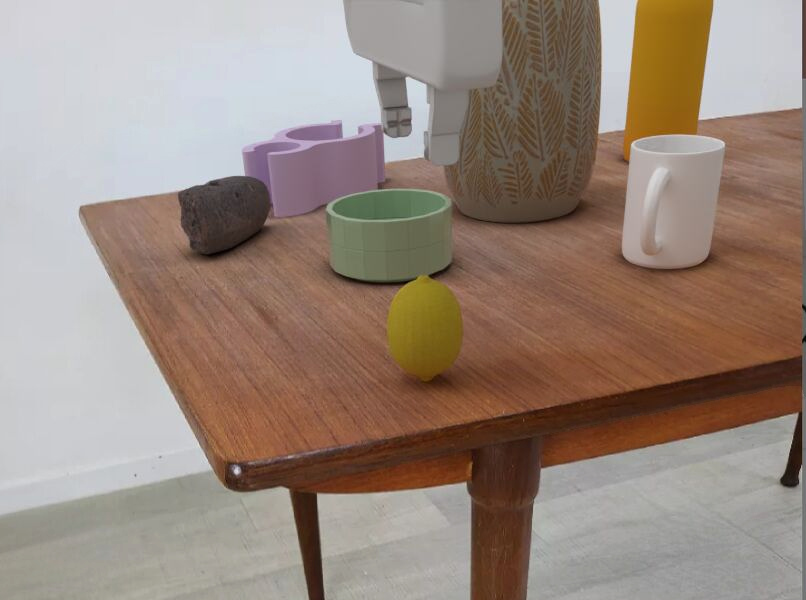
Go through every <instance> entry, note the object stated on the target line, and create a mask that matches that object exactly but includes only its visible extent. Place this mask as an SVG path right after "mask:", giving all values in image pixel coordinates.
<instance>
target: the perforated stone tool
mask: <svg viewBox="0 0 806 600" xmlns="http://www.w3.org/2000/svg"><path fill="white" fill-rule="evenodd" d="M177 197H178V198H177V199H178V203H179V206H180V219H179V220H180V227H181V229H182V231H183V232H184V234H185V235H186V236H187V238H188V240H189V247H190V249H191V250H193V251H196V252H197V253H198V254H205V255H211V254H212V255H213V254H215V253H218V252H224V251H226V250H230V249H232V248H234V247H235V246H237V245H239V244H240V243H243V242H244V241H246V240H248V239H249V238H251V237H252V236H254V235H255V234H257V232H259V231H260V230H261V229H262V227H263V226H264V225H265V223H266V222H267V220H268V217H269V214H270V211H271V204H270V194H269V191H268V189H267V186H266V185H265V184H264V182H262V181H260V180H259V179H257V178H254V177H249V176H245V175H230V176H225V177H221V178H215V179H212V180H208V181H207V182H206V183H203V184H196V185H194V186H191V187H190V186H189V187H188V188H185V189H183V190H180V191H178V193H177Z"/></svg>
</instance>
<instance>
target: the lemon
mask: <svg viewBox="0 0 806 600" xmlns="http://www.w3.org/2000/svg"><path fill="white" fill-rule="evenodd" d="M386 338H387V343H388V347H389V351H390V354H391V356H392V358H393V360H394V361H395V363H396V364H397V365H398V366H399V367H400V368H401V369H402V370H403V371H404V372H406V373H408V374H410V375H412V376H415V377H417V378H418V379H419V380H420V381H422V382H423V383H429V382H431V381H432V380H433V379H434V378H435V376H437V375H439V374H442V373H444V372H445V371H447V370H448V369H450V367H451V366H452V365H453V364H454V362H455V361H456V360H457V358H458V356H459V354H460V352H461V349H462V345H463V340H464V322H463V314H462V310H461V307H460V304H459V301H458V299H457V297H456V295H455V294H454V292H453V291H452V290H451V289H450V288H449V287H448V286H447V285H445V284H444V283H443V282H440V281H439V280H436V279H433V278H431V277H430V275H420V276H419V277H418V278H417V279H414V280H411V281H409V282H408V283H406V284H404V286H402V287H401V288H400V289H399V290H398V291H397V292H396V293H395V295H394V296H393V298H392V301H391V302H390V306H389V310H388V314H387V319H386Z"/></svg>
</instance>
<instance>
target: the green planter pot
mask: <svg viewBox="0 0 806 600" xmlns="http://www.w3.org/2000/svg"><path fill="white" fill-rule="evenodd" d="M325 219H326V220H325V221H326V231H327V232H326V233H327V245H328V255H329V256H328V257H329V266H330V267H331V269H332V270H333V271H334V272H335V273H336V274H339V275H341V276H344V277H347V278H351V279H354V280H358V281H363V282H367V283H368V282H370V283H400V282H401V283H402V282H407V281H414V280H416V279H417V278H418V277H419V276H420V275H428V276H431V275H433V274H434V273H437V272H439V271H443V270H445V268H447V267H448V266H449V265H450V264H451V263H452V262H453V200H452V198H450V197H449V196H447V195H446V194H444V193H441V192H437V191H433V190H428V189H417V188H386V189H385V188H383V189H377V190H372V191H365V192H360V193H354V194H350V195H347V196H343V197H340V198H337V199H336V200H334V201H332V202H331V203H328V204H326V207H325Z"/></svg>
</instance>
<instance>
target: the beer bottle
mask: <svg viewBox="0 0 806 600" xmlns="http://www.w3.org/2000/svg"><path fill="white" fill-rule="evenodd" d="M713 12H714V0H637V1H636V5H635V15H634V16H635V17H634V25H633V27H634V28H633V39H632V49H631V60H630V72H629V81H628V82H629V83H628V92H627V104H626V105H627V106H626V116H625V126H624V134H623V141H622V156H623V159H624V160H625V162H627V163H629V161H630V150H631V144H632V143H633V142H634V141H636V140H638V139H642V138H646V137H652V136H660V135H697V136H698V126H699V118H700V110H701V104H702V103H701V102H702V96H703V86H704V79H705V70H706V63H707V56H708V49H709V42H710V41H709V40H710V32H711V26H712V19H713Z"/></svg>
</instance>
